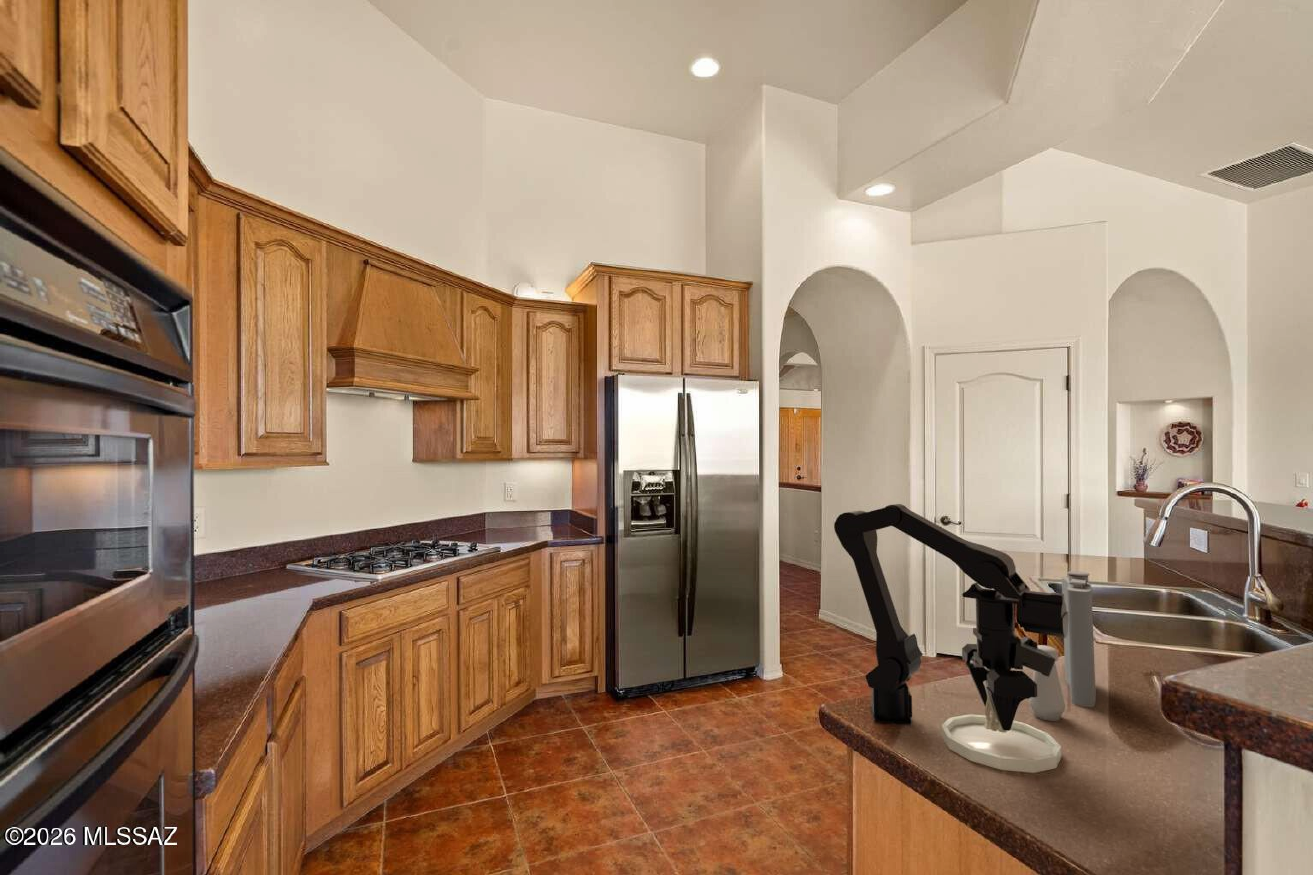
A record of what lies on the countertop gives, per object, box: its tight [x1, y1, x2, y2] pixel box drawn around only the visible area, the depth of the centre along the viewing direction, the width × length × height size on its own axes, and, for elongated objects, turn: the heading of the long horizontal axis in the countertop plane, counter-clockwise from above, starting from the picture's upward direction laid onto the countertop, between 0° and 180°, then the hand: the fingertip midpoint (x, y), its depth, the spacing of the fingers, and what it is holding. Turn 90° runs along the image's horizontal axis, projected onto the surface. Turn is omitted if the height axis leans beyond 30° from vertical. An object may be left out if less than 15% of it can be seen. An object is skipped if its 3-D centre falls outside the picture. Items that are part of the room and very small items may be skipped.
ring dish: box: [941, 713, 1062, 774], centre depth 103 cm, size 17×17×2 cm
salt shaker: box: [1028, 644, 1066, 722], centre depth 115 cm, size 6×6×13 cm
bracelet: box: [983, 680, 1007, 733], centre depth 103 cm, size 4×8×8 cm, turn 148°
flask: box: [1061, 570, 1097, 708], centre depth 127 cm, size 17×5×25 cm, turn 150°
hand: (997, 719), depth 103 cm, fingers closed on bracelet, 8 cm apart
